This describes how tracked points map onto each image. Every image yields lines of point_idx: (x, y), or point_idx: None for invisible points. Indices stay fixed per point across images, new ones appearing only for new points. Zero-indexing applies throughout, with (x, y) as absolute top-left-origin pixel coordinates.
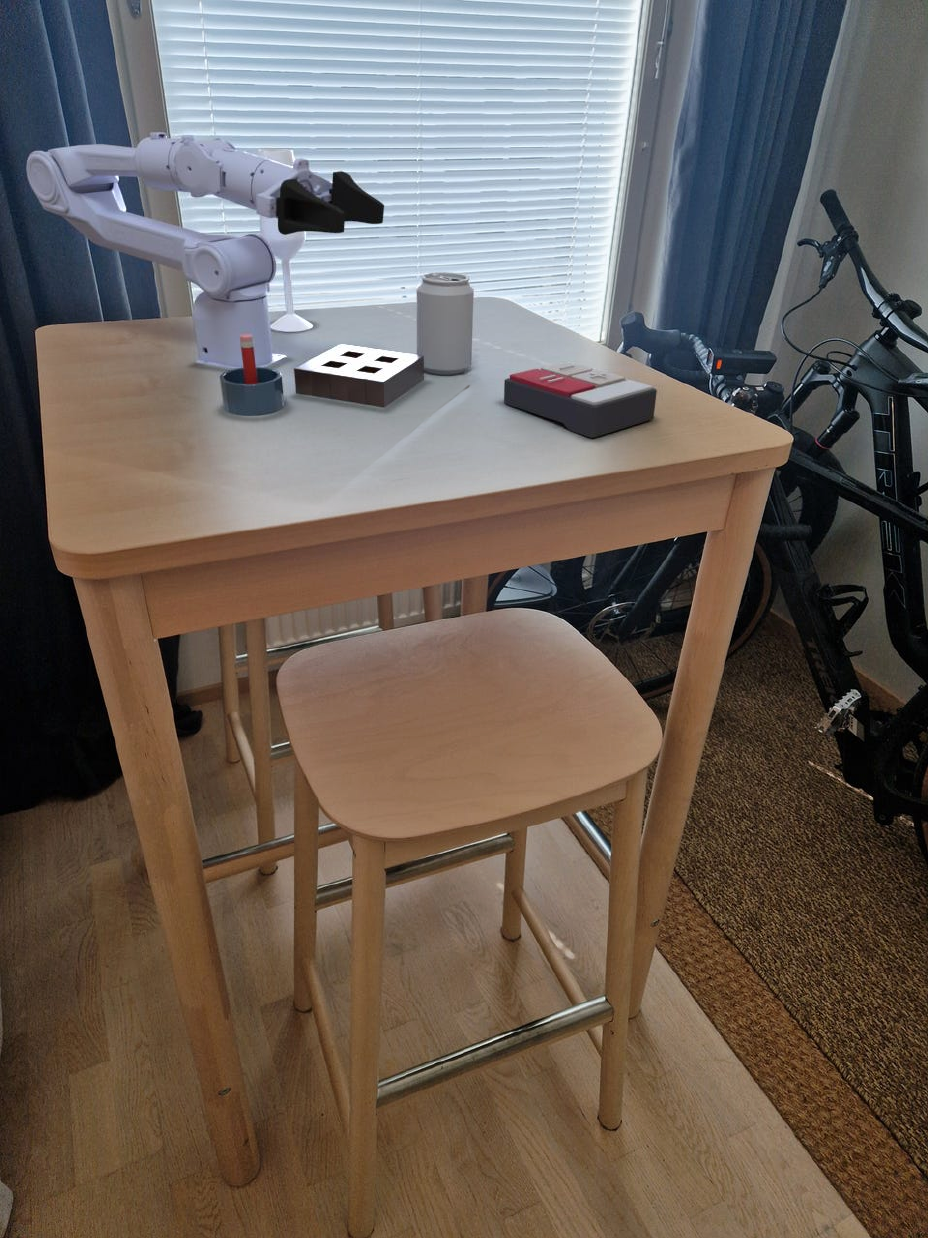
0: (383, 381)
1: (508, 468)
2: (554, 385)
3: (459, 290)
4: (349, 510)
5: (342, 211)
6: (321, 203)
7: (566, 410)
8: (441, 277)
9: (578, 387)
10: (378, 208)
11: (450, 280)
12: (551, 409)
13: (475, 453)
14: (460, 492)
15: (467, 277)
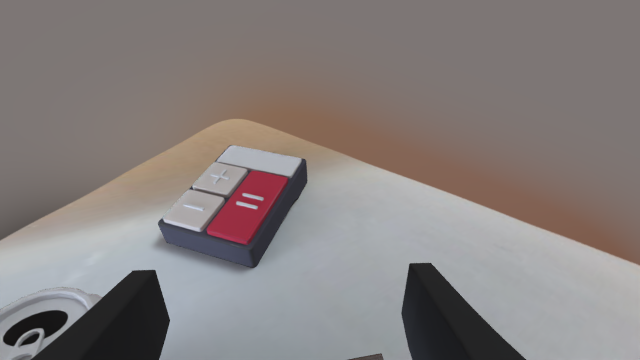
0: (378, 355)
1: (407, 201)
2: (271, 192)
3: (95, 298)
4: (581, 247)
5: (419, 267)
6: (490, 326)
7: (295, 188)
8: (30, 348)
9: (268, 176)
10: (156, 289)
11: (41, 328)
12: (287, 204)
13: (402, 229)
14: (473, 207)
15: (29, 296)
